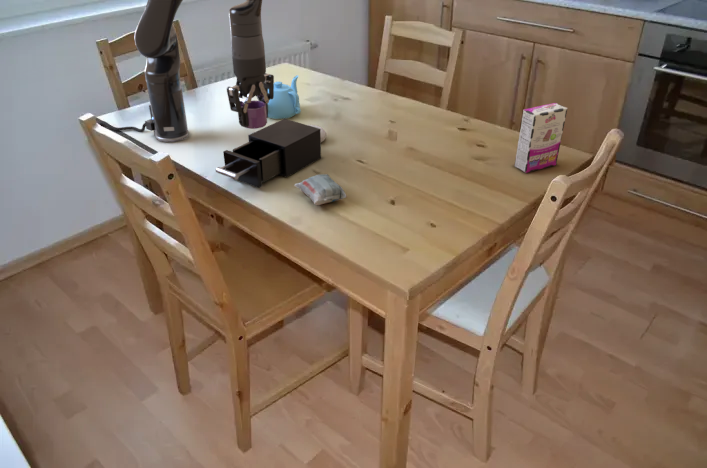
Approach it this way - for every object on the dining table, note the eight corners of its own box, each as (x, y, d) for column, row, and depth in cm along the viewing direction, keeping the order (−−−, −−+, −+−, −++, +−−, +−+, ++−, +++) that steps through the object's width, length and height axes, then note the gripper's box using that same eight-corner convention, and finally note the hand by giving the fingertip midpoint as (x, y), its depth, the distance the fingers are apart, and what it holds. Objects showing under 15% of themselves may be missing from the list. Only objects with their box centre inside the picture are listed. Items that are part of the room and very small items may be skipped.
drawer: (243, 196, 141) (241, 171, 137) (210, 183, 146) (207, 158, 142) (294, 168, 154) (292, 144, 150) (261, 157, 159) (259, 134, 155)
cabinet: (286, 177, 151) (284, 146, 147) (250, 164, 157) (248, 135, 153) (321, 158, 161) (320, 128, 157) (286, 146, 167) (284, 118, 163)
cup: (236, 125, 143) (234, 105, 141) (253, 117, 148) (252, 98, 145) (255, 131, 140) (253, 111, 138) (272, 123, 145) (271, 103, 142)
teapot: (305, 120, 184) (304, 88, 179) (257, 123, 182) (254, 91, 176) (299, 104, 197) (298, 74, 191) (254, 107, 194) (251, 76, 188)
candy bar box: (543, 158, 163) (555, 101, 154) (556, 165, 159) (569, 108, 151) (512, 166, 159) (522, 108, 150) (525, 173, 155) (536, 114, 146)
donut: (288, 145, 168) (321, 148, 167) (287, 134, 167) (321, 137, 165) (297, 132, 177) (329, 134, 175) (297, 121, 175) (329, 124, 173)
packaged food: (314, 213, 136) (314, 194, 134) (294, 191, 145) (293, 173, 142) (347, 204, 140) (348, 186, 137) (325, 184, 149) (325, 166, 146)
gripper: (238, 63, 128) (245, 135, 137) (281, 49, 138) (285, 116, 147) (213, 58, 131) (222, 127, 140) (257, 44, 141) (262, 110, 150)
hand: (254, 121), depth 144 cm, fingers closed on cup, 6 cm apart
